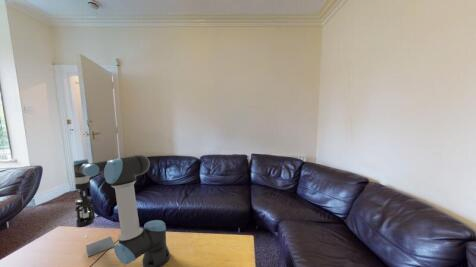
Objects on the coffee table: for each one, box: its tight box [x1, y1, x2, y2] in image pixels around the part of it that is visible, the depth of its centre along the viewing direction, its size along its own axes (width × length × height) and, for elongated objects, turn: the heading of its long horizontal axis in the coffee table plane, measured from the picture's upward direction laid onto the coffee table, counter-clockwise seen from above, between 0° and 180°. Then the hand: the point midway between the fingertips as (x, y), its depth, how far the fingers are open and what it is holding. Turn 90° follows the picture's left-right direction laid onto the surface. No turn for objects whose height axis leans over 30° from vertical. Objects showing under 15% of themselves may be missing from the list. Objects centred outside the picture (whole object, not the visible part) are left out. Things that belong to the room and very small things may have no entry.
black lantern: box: [74, 190, 96, 228], centre depth 127 cm, size 12×9×23 cm
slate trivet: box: [85, 236, 116, 258], centre depth 126 cm, size 14×14×1 cm
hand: (85, 214), depth 127 cm, fingers closed on black lantern, 9 cm apart
